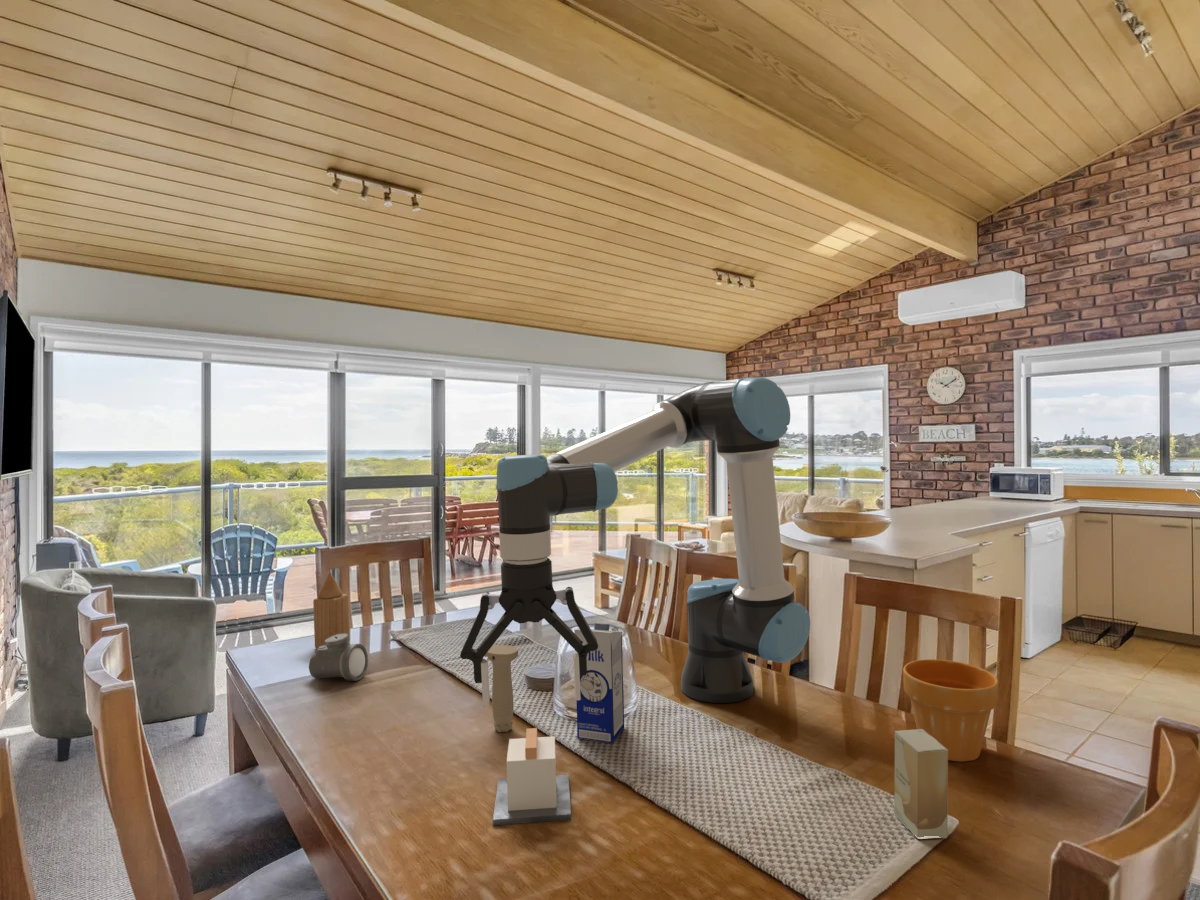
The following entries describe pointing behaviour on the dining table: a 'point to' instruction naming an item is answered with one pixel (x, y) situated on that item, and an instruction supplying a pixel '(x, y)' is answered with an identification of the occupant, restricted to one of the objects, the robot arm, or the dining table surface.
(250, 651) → the dining table surface
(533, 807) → the white block with peg
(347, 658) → the pipe fitting
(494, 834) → the dining table surface
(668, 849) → the dining table surface
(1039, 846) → the dining table surface
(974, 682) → the flower pot
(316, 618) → the decorative item
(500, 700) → the handle
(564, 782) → the post base
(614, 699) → the milk carton
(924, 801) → the skincare box
